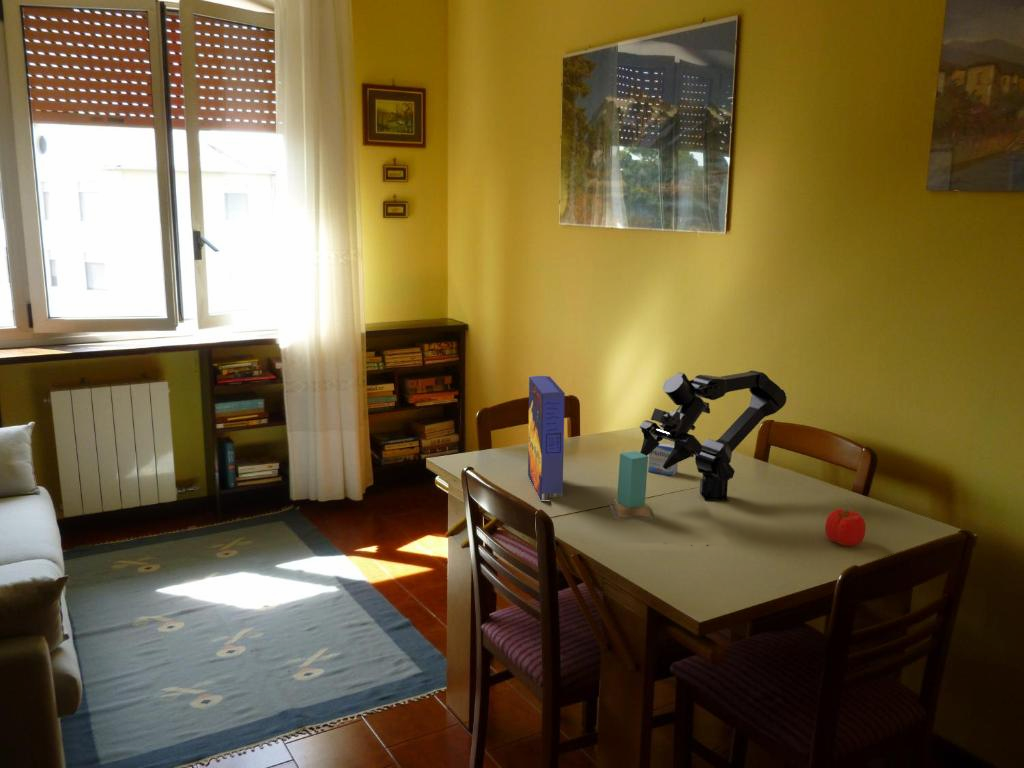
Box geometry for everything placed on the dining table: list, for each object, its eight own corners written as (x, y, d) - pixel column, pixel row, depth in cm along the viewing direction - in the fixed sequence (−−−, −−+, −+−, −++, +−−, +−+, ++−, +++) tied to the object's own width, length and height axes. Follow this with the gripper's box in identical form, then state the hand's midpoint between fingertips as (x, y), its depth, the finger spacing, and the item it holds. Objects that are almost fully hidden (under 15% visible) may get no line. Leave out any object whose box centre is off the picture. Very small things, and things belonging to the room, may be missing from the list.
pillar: (632, 498, 219) (635, 450, 216) (644, 505, 215) (648, 456, 212) (617, 501, 217) (620, 453, 214) (629, 508, 213) (632, 458, 210)
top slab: (644, 505, 221) (644, 498, 220) (650, 517, 213) (650, 509, 212) (613, 505, 220) (614, 498, 220) (618, 516, 213) (618, 509, 212)
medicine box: (647, 472, 253) (648, 444, 251) (652, 468, 256) (653, 440, 255) (673, 476, 249) (674, 447, 247) (677, 472, 253) (679, 444, 251)
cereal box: (528, 476, 248) (529, 375, 242) (548, 475, 249) (549, 375, 242) (540, 501, 227) (542, 392, 220) (562, 500, 228) (564, 391, 221)
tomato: (824, 533, 206) (827, 504, 205) (863, 539, 203) (866, 509, 201) (823, 547, 198) (826, 517, 196) (864, 553, 194) (867, 522, 193)
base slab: (647, 512, 222) (647, 505, 221) (653, 526, 212) (654, 519, 211) (609, 512, 221) (609, 505, 221) (614, 526, 212) (614, 518, 211)
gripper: (646, 390, 224) (612, 436, 221) (696, 404, 208) (660, 454, 205) (667, 415, 230) (634, 460, 226) (717, 431, 214) (683, 480, 211)
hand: (651, 463), depth 217 cm, fingers open, 9 cm apart
